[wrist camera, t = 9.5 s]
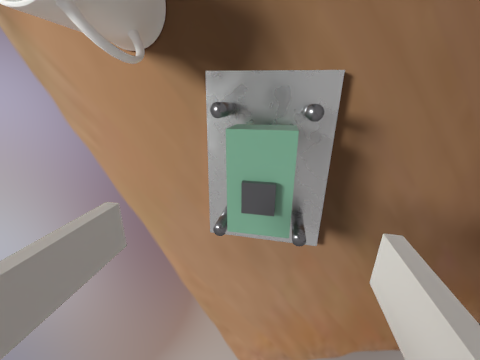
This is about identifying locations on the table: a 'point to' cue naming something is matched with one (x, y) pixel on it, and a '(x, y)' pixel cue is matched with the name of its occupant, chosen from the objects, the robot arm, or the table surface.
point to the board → (260, 178)
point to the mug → (104, 21)
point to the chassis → (276, 113)
